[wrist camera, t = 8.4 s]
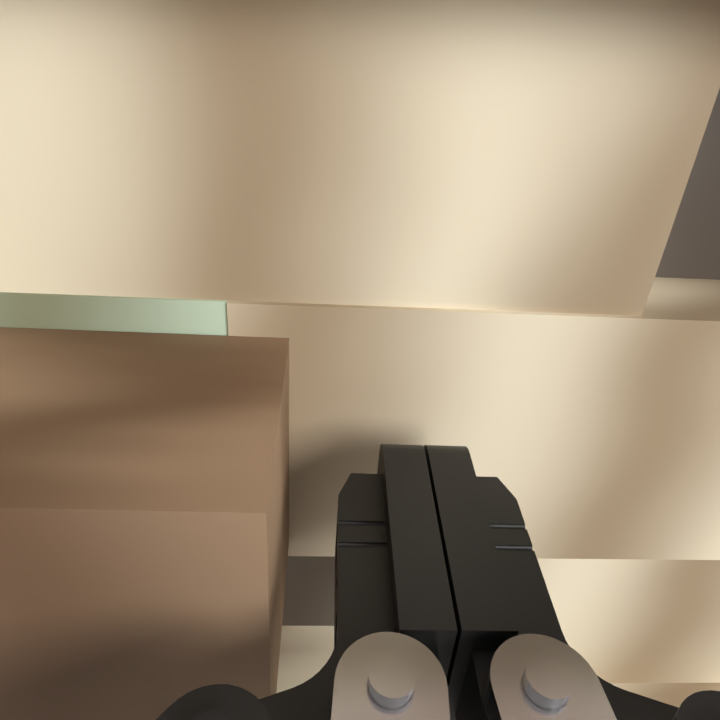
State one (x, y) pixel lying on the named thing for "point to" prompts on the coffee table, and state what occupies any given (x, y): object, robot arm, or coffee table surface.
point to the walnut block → (139, 519)
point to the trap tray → (413, 262)
